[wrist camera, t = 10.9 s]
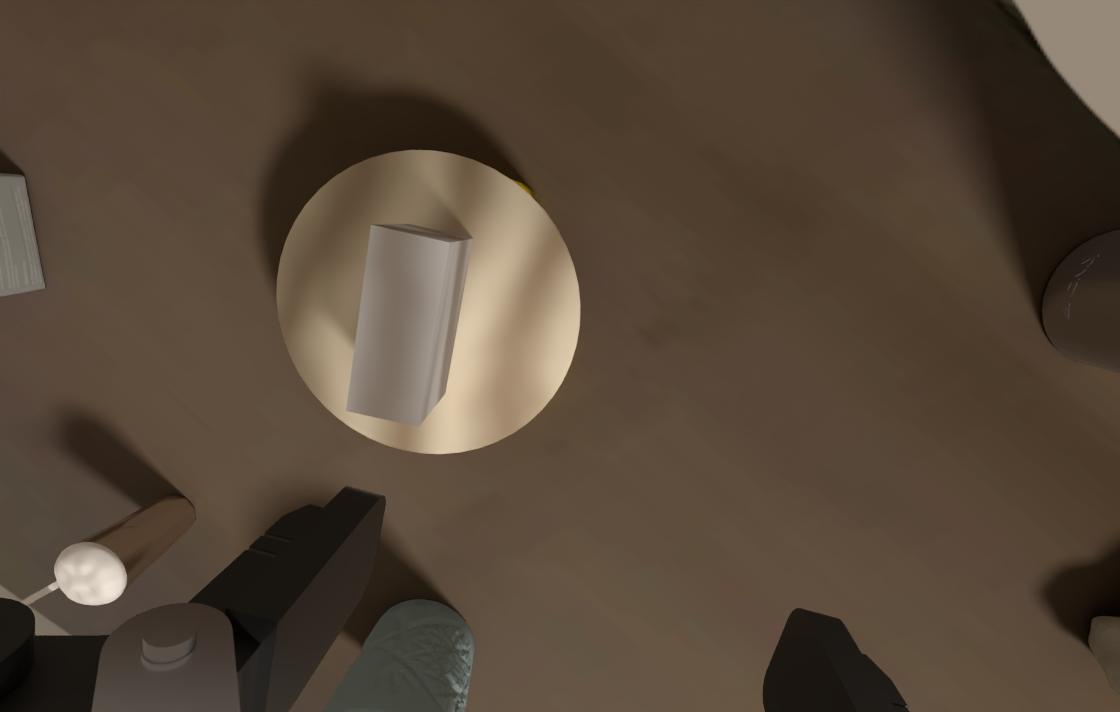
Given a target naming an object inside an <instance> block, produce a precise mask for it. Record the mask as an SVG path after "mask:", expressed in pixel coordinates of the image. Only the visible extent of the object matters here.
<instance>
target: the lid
mask: <svg viewBox="0 0 1120 712" xmlns="http://www.w3.org/2000/svg"><path fill="white" fill-rule="evenodd" d="M277 308H278V317H279V322H280V326H281V331H282V335H283V338H284V341H285V344H286V347H287V349H288V352H289V355H290V357H291V359H292V361H293V363H294V365H295V367H296V369H297V371H298V373H299V374H300V376H301V377H302V379H303V380H304V382H305V383H306V385H307V386H308V388H309V389H310V390H311V391H312V393H313V394H314V395H315V396H316V397H317V398H318V400H319V401H320V402H321V403H322V404H323V405H324V406H325V407H326V408H327V409H328V410H329V411H330V412H332V413H333V414H334V415H335V416H336V417H337V418H339V419H340V420H341V421H343V422H344V423H345V424H347V425H348V426H349V427H351V428H352V429H354V430H356V431H358V432H359V433H361V434H363V435H365V436H366V437H368V438H370V439H373V440H375V441H378V442H380V443H382V444H385V445H388V446H391V447H395V448H398V449H402V450H406V451H412V452H418V453H430V454H447V453H458V452H464V451H469V450H473V449H478V448H481V447H484V446H486V445H489V444H492V443H495V442H497V441H499V440H501V439H503V438H505V437H507V436H509V435H511V434H513V433H514V432H515V431H517V430H518V429H520V428H521V427H523V426H524V425H526V424H527V423H528V422H529V421H530V420H532V419H533V418H534V417H535V416H536V415H537V414H538V413H539V412H540V411H541V410H542V409H543V408H544V407H545V406H546V404H547V403H548V402H549V401H550V400H551V398H552V397H553V396H554V394H555V393H556V391H557V389H558V388H559V386H560V385H561V383H562V382H563V380H564V378H565V375H566V373H567V371H568V369H569V367H570V364H571V362H572V358H573V355H574V352H575V349H576V345H577V339H578V333H579V327H580V295H579V285H578V280H577V276H576V272H575V267H574V264H573V261H572V258H571V256H570V253H569V250H568V248H567V245H566V243H565V242H564V240H563V238H562V236H561V234H560V232H559V230H558V228H557V227H556V225H555V224H554V223H553V221H552V220H551V218H550V217H549V216H548V214H547V213H546V211H545V210H544V209H543V208H542V207H541V206H540V205H539V204H538V203H537V201H536V200H535V199H534V198H533V197H532V196H531V195H530V194H529V193H528V192H526V191H525V190H524V189H523V188H521V187H520V186H519V185H518V184H517V183H515V182H514V181H513V180H511V179H509V178H508V177H506V176H505V175H503V174H501V173H500V172H498V171H497V170H495V169H493V168H491V167H489V166H486V165H484V164H482V163H480V162H478V161H475V160H473V159H469V158H466V157H463V156H460V155H456V154H452V153H446V152H440V151H433V150H406V151H398V152H390V153H387V154H383V155H379V156H376V157H372V158H369V159H367V160H364V161H362V162H360V163H357V164H355V165H353V166H351V167H349V168H348V169H346V170H344V171H343V172H341V173H340V174H338V175H336V176H335V177H333V178H332V179H331V180H330V181H329V182H327V183H326V184H325V185H324V186H323V187H322V188H320V189H319V190H318V191H317V192H316V194H315V195H314V196H313V197H312V198H311V199H310V200H309V201H308V203H307V204H306V205H305V206H304V208H303V209H302V211H301V212H300V214H299V216H298V217H297V219H296V220H295V222H294V224H293V226H292V228H291V230H290V232H289V234H288V237H287V239H286V242H285V245H284V248H283V251H282V255H281V258H280V263H279V269H278V275H277Z"/></svg>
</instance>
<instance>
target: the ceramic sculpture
mask: <svg viewBox="0 0 1120 712" xmlns="http://www.w3.org/2000/svg"><path fill="white" fill-rule="evenodd" d="M1088 642H1089V646H1090V648H1091V650H1092V652H1093V654H1094V655H1095V657H1096V659H1097V660H1098V662H1099V664H1100V665H1101V667H1102V669H1103V670H1104V672H1105V674H1106V676H1107V679H1108V682H1109V684H1110V686H1111V688H1112V689H1113V690H1114V691H1115V692H1116V693H1117V694H1118V695H1119V696H1120V617H1112V616H1098V617H1094V618H1093V619H1092V622H1091V630H1090V633H1089V638H1088Z"/></svg>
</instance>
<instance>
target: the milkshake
mask: <svg viewBox="0 0 1120 712" xmlns="http://www.w3.org/2000/svg"><path fill="white" fill-rule="evenodd" d="M195 520H196V517H195V509H194V507H193V506H192V505H191V504H190V503H189V502H188V500H187V499H186V498H183V497H180V496H177V495H174V494H173V495H169V496H165V497H162V498H160V499H158V500H156V501H154V502H152V503H150V504H149V505H147V506H145V507H143V508H141V509H139V510H138V511H136V512H134V513H132V514H130V515H129V516H127V517H125V518H123V519H121V520H119V521H118V522H116V523H114V524H112V525H110V526H109V527H107V528H105V529H103V530H101V531H99V532H97V533H95V534H93V535H91V536H89V537H87V538H85V539H83V540H81V541H79V542H77V543H75V544H73V545H71V546H69V547H67V548H66V549H64V550H63V551H62V552H61V554H60V556H59V557H58V559H57V561H56V563H55V566H54V573H55V576H56V580H57V581H55V582H54V583H52V584H50V585H48V586H47V587H45V588H43V589H41V590H39V591H38V592H36V593H34V594H32V595H31V596H29V597H27V598H25V599H24V600H22V601H21V603H23V604H25V605H29V604H31V603H33V602H35V601H36V600H38V599H40V598H42V597H43V596H45V595H47V594H49V593H50V592H52V591H54V590H56V589H57V588H59V587H60V589H61V590H62V591H63V592H64V593H65V595H66V596H67V597H68V598H69V599H71V600H73V601H75V602H78V603H81V604H86V605H101V604H106V603H110V602H112V601H114V600H115V599H117V598H118V597H119V596H120V595H121V594H122V593H123V592H124V591H125V590H126V589H127V588H128V587H129V586H130V585H131V584H132V583H133V582H134V581H135V580H136V579H137V578H138V577H139V576H140V575H141V574H142V573H143V572H144V571H145V570H146V569H147V568H148V567H149V566H150V565H151V564H152V563H154V562H155V561H156V560H157V559H158V558H159V557H160V556H161V555H162V554H163V553H164V552H165V551H166V550H168V549H169V548H170V547H171V546H172V545H173V544H174V543H175V542H176V541H177V540H178V539H179V538H180V537H182V536H183V535H184V534H185V533H186V532H187V531H188V530H189V529H190V528H191V526H192V525H193V523H194V522H195Z"/></svg>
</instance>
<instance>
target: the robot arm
mask: <svg viewBox="0 0 1120 712" xmlns="http://www.w3.org/2000/svg"><path fill="white" fill-rule="evenodd" d="M1042 318H1043V325H1044V328H1045V331H1046V334H1047V336H1048V338H1049V339H1050V341H1051V342H1052V344H1053V345H1054V347H1056V348H1057V349H1058V350H1059V351H1060V352H1061V353H1062V354H1064V355H1065V356H1067V357H1069V358H1071V359H1073V360H1075V361H1078V362H1081V363H1084V364H1088V365H1091V366H1095V367H1098V368H1102V369H1105V370H1109V371H1112V372H1116V373H1119V374H1120V230H1117V231H1111V232H1108V233H1105V234H1102V235H1099V236H1096V237H1094V238H1092V239H1090V240H1089V241H1087V242H1085V243H1083V244H1082V245H1080V246H1079V247H1077V248H1076V249H1075V250H1074V251H1073V252H1071V253H1070V254H1069V255H1068V256H1067V257H1066V258H1065V259H1064V260H1063V261H1062V263H1061V264H1060V265H1059V266H1058V267H1057V269H1056V270H1055V272H1054V274H1053V275H1052V277H1051V279H1050V280H1049V282H1048V285H1047V288H1046V291H1045V294H1044V297H1043V305H1042ZM385 505H386V499H385V496H383V495H379V494H375V493H371V492H368V491H364V490H360V489H356V488H353V487H349V486H346V487H344V488H343V489H342V490H341V491H340V492H339V493H338V494H337V495H336V496H335V497H334V498H333V499H332V500H331V501H330V502H329V503H328V504H327V505H326V506H325V507H324V508H321V507H318V506H314V505H310V504H309V505H307V506H305V507H302V508H300V509H298V510H295V511H293V512H291V513H288V514H286V515H284V516H282V517H281V518H280V519H279V520H278V521H277V522H276V523H275V524H274V525H273V526H272V527H270V528H269V529H268V530H267V531H266V532H265V535H264V536H261V537H259V538H258V539H257V540H256V541H255V542H254V543H253V544H252V545H251V546H250V548H249V550H245V551H244V552H243V553H242V554H241V555H240V556H239V557H237V558H236V559H235V560H234V561H233V562H232V563H231V564H230V565H229V566H228V567H226V568H225V569H224V570H223V571H222V572H221V573H220V574H219V575H218V576H217V577H216V578H214V579H213V580H212V581H211V582H210V583H209V584H208V585H207V586H206V587H205V588H203V589H202V590H201V591H200V592H199V593H198V594H197V595H196V596H195V597H194V598H192V599H191V600H190V601H189V602H188V603H177V604H169V605H164V606H160V607H157V608H153V609H150V610H147V611H145V612H143V613H140V614H138V615H136V616H134V617H132V618H131V619H129V620H127V621H126V622H124V623H123V624H121V625H120V626H119V627H118V628H117V629H116V630H114V631H113V632H112V634H111V635H100V636H35V617H34V614H33V612H32V610H31V609H30V608H29V607H28V606H27V605H25V604H23V603H21V602H19V601H15V600H12V599H6V598H0V712H289V710H290V709H291V707H292V706H293V704H294V702H295V701H296V699H297V698H298V696H299V695H300V693H301V692H302V690H303V689H304V687H305V685H306V684H307V682H308V681H309V679H310V678H311V676H312V675H313V673H314V671H315V670H316V668H317V667H318V665H319V664H320V662H321V661H322V659H323V658H324V656H325V654H326V653H327V651H328V650H329V648H330V647H331V645H332V644H333V642H334V641H335V639H336V637H337V636H338V634H339V633H340V631H341V630H342V628H343V627H344V625H345V624H346V622H347V620H348V619H349V617H350V616H351V614H352V613H353V611H354V610H355V608H356V606H357V605H358V603H359V602H360V600H361V599H362V597H363V595H364V593H365V591H366V588H367V586H368V583H369V581H370V578H371V575H372V572H373V568H374V563H375V558H376V553H377V548H378V542H379V537H380V532H381V527H382V522H383V516H384V511H385ZM763 704H764V709H765V712H909V711H908V706H907V704H906V703H905V701H904V699H903V698H902V696H901V695H900V693H899V691H898V690H897V688H896V687H895V685H894V684H893V682H892V680H891V679H890V678H889V677H888V676H887V675H886V674H885V673H884V672H883V671H882V670H881V669H880V668H879V667H878V666H877V665H876V664H875V663H874V662H873V661H872V660H871V659H870V658H869V657H868V656H867V655H865V654H862V653H861V652H860V650H859V648H858V647H857V645H856V643H855V642H854V640H853V638H852V637H851V635H850V633H849V632H848V630H847V628H846V627H845V625H844V624H843V622H842V621H841V620H840V619H838V618H834V617H831V616H827V615H823V614H820V613H816V612H812V611H808V610H805V609H801V608H797V609H795V610H793V611H792V613H791V614H790V616H789V618H788V620H787V623H786V625H785V627H784V630H783V632H782V635H781V637H780V640H779V642H778V645H777V647H776V649H775V652H774V654H773V657H772V659H771V662H770V664H769V666H768V669H767V671H766V674H765V678H764V684H763Z"/></svg>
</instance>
